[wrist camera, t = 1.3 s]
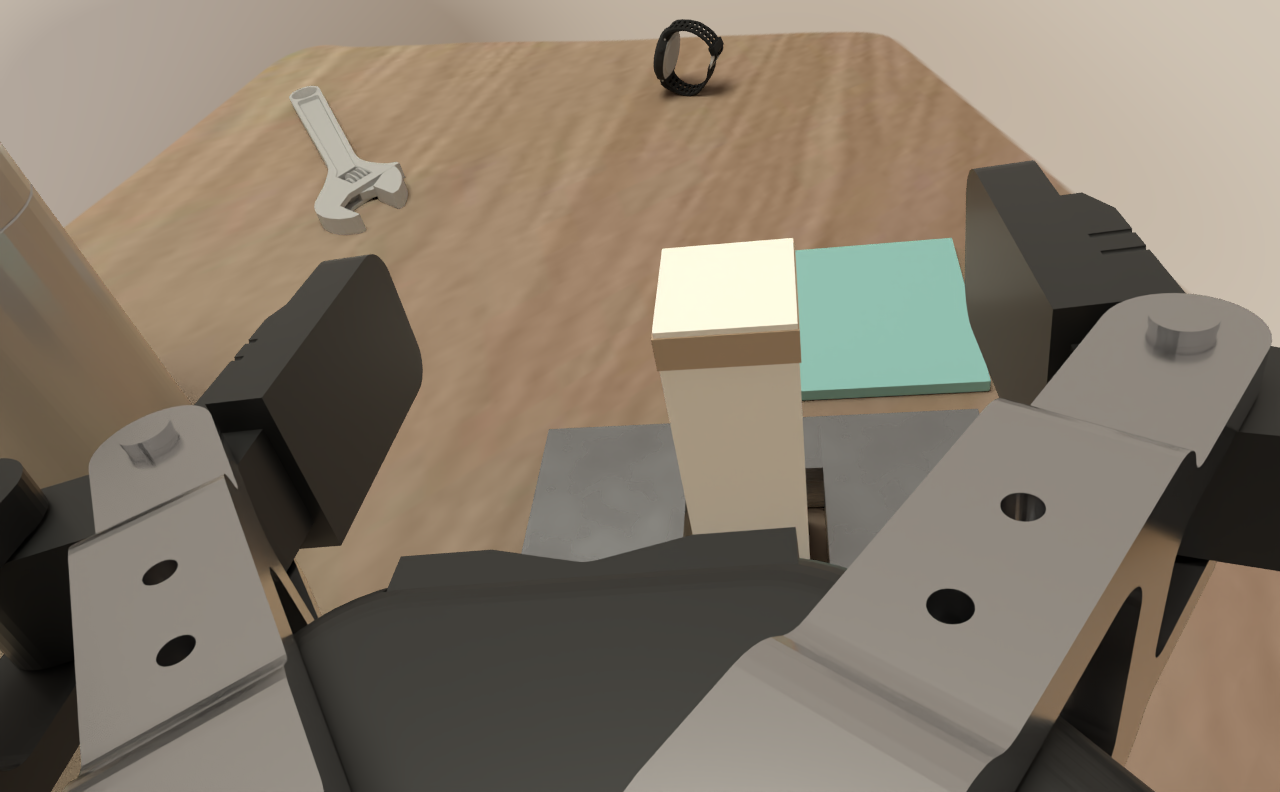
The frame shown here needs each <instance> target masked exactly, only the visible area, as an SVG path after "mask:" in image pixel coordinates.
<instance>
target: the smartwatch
mask: <svg viewBox="0 0 1280 792" xmlns="http://www.w3.org/2000/svg"><path fill="white" fill-rule="evenodd" d="M689 23H691V24H689ZM694 24H696V25H694ZM698 26H700V28H699V27H698ZM691 28H693V29H691ZM703 28H704V29H705V30H703ZM696 30H698V31H696ZM679 31H687V32H691V33H693V34H695V35H697V36H698V37H700V38H701V39H702V40H704V41H705V42H706V44H707V45H708V46H709V49H708V50H709V52H710V54H711V56H712V57H711V62H710V64H709V67H708V72H707V78H706V80H705V81H704V82H702V83H701V84H698V85H692V84H687V83H685V82H683V81H682V80H680V79H679V78H678V77H677V75H676V74H675V72H674V69H675V66H676V63H677V59H678V55H679V48H680V34H679ZM707 31H708V32H709V33H707ZM700 32H701V34H700ZM710 34H711V35H712V37H711V36H710ZM704 35H705V36H706V37H704ZM707 38H709V40H707ZM713 38H715V40H714V39H713ZM710 41H711V42H712V44H711V43H710ZM723 44H724V43H723V41H722V39H721V37H717V35H716V34H715V33H714V31H712V30H711V29H710V28H709V27H707V26H706V25H704V24H702V23H701V22H698V21H693V20H683V19H682V20H676V21H674V22H673V23H672V24H671V25H670V26H669V27H668V28H666V29H665V30H664V31H663V32H662V34H661V36H660V38H659V40H658V43H657V46H656V50H655V55H654V72H655V74H656V76H657V78H658V79H659V80H660V82H661V85H662V86H663V87H664V88H666V89H668V90H670V91H672V92H675V93H677V94H680V95H684V96H693V95H696V94H697V93H699V92H700V91H701V90H702V89H703V87H704V86H705V85H706V83H707V82H708V80H709V79H710V77H711V76H712V74H713V72H714V69H715V65H716V60H717V59H718V57H719V55H720V54H721V52H722V51H723ZM676 82H677V83H676ZM679 84H681V85H682V86H680V85H679ZM684 86H686V88H684ZM689 87H691V88H690V89H689ZM677 88H678V90H677ZM693 88H694V89H693ZM682 90H683V91H682ZM687 91H688V92H687Z"/></svg>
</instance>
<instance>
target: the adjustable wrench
mask: <svg viewBox="0 0 1280 792" xmlns="http://www.w3.org/2000/svg"><path fill="white" fill-rule="evenodd" d="M289 98H290V101H291V103H292V105H293V107H294V109H295V111H296V113H297V115H298V116H299V118H300V120H301V122H302V123H303V125H304V127H305V129H306V131H307V132H308V134H309V136H310V138H311V139H312V141H313V143H314V145H315V146H316V148H317V150H318V152H319V154H320V155H321V157H322V159H323V161H324V162H325V164H326V166H327V168H328V175H327V178H326V181H325V184H324V186H323V189H322V191H321V192H320V194H319V196H318V198H317V200H316V202H315V205H314V206H315V211H316V213H317V215H318V217H319V220H320V222H321V224H322V226H323V227H324V229H326V230H327V231H329V232H331V233H334V234H341V235H351V234H359V233H362V232H364V231H366V228H365V225H364V223H363V221H362V219H361V216H360V214H358V213H356V212H354V210H355V209H356V208H358V207H359V206H361V205H363V204H364V203H366V202H367V201H369V200H371V199H372V198H374V197H377V196H378V199H379V201H381V202H383V203H386V204H388V205H390V206H393V207H395V208H398V209H400V208H401V207H403V206H405V203H406V201H407V198H408V191H407V188H406V185H405V183H404V180H403V178H405V176H404V173H403V171H402V168H401V166H400V163H398V162H393V163H374V162H367V161H364V160H362V159H360V158H358V157H357V156H356V155H355V153H354V151H353V149H352V148H351V146H350V144H349V142H348V140H347V138H346V137H345V135H344V133H343V131H342V129H341V127H340V125H339V124H338V122H337V120H336V118H335V116H334V114H333V113H332V111H331V109H330V107H329V105H328V103H327V101H326V100H325V98H324V96H323V94H322V92H321V90H320V89H319V87H317V86H308V87H304V88H301V89H298V90H296V91H294V92H293V93H292V94H291V95H290V96H289Z"/></svg>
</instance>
